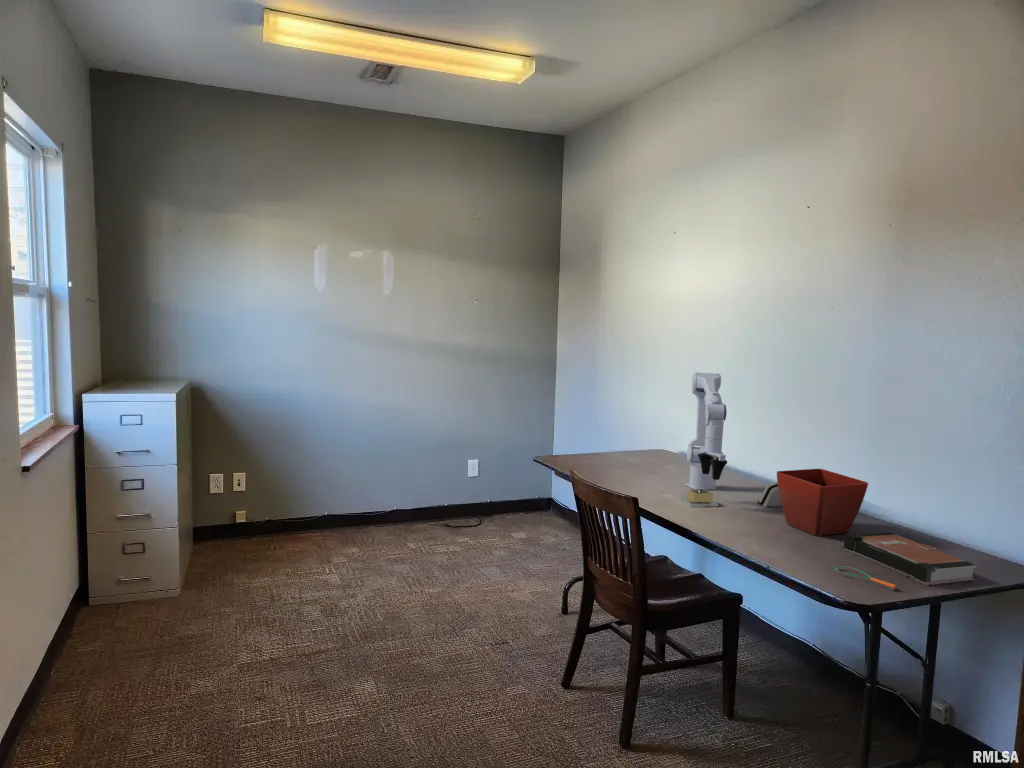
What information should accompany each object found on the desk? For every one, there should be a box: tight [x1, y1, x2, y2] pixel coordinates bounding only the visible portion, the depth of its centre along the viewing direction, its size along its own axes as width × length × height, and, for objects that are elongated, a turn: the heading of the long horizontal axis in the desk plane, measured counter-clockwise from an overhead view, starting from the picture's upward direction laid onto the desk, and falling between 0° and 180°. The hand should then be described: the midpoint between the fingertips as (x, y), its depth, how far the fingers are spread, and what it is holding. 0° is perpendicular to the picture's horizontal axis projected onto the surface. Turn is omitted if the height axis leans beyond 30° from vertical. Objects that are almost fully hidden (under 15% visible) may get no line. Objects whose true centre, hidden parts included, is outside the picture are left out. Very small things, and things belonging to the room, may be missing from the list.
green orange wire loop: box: [834, 565, 898, 588], centre depth 169 cm, size 15×6×2 cm, turn 32°
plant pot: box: [776, 468, 869, 537], centre depth 209 cm, size 19×19×17 cm
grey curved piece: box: [756, 481, 782, 508], centre depth 237 cm, size 17×5×10 cm, turn 110°
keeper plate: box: [681, 489, 719, 508], centre depth 233 cm, size 10×7×5 cm
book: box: [843, 532, 977, 582], centre depth 181 cm, size 26×18×5 cm
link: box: [686, 489, 714, 502], centre depth 233 cm, size 7×5×3 cm
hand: (710, 476), depth 233 cm, fingers open, 7 cm apart
